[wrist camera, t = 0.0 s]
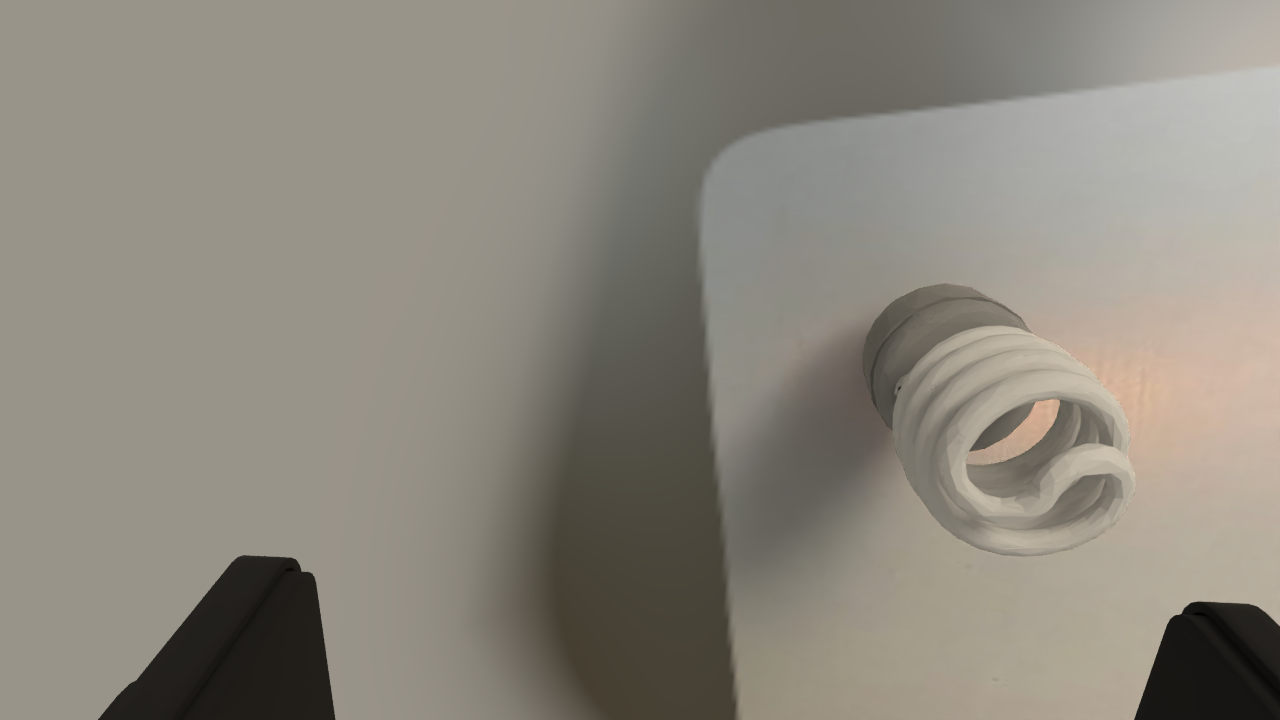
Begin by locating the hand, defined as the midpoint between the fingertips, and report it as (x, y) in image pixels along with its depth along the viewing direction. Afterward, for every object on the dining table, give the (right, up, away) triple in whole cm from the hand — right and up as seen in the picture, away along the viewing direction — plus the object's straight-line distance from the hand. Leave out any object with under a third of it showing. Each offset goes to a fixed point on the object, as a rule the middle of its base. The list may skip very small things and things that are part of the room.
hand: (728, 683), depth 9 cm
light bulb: (+9, +5, +22) cm, 24 cm away
